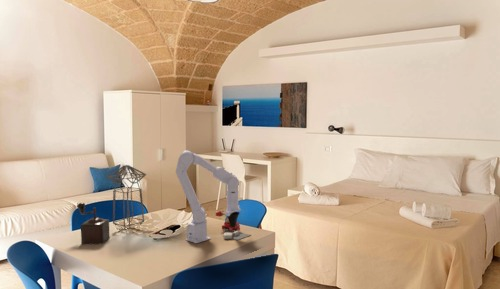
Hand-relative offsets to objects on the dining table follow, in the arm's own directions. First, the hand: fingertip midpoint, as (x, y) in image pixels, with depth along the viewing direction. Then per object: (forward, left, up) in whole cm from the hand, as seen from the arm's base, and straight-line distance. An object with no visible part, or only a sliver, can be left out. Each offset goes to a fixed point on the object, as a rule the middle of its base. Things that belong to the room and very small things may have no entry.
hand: (232, 226), depth 199 cm
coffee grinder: (-49, +50, -6) cm, 70 cm away
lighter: (-3, -1, -4) cm, 5 cm away
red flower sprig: (+7, +11, -6) cm, 14 cm away
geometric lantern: (-28, +51, -6) cm, 58 cm away
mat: (+3, +1, -5) cm, 6 cm away
